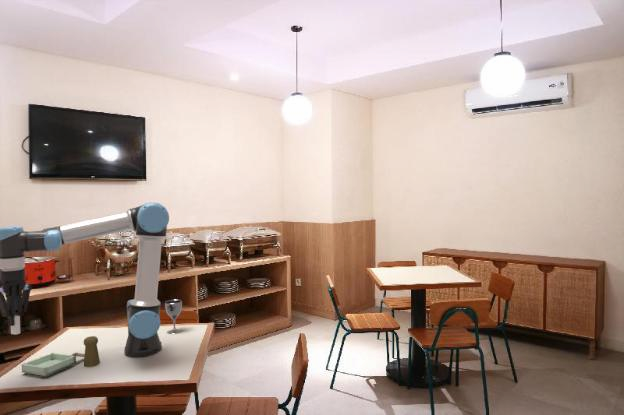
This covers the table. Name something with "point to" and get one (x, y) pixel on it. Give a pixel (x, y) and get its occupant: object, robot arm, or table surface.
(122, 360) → the table surface
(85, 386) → the table surface
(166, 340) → the table surface
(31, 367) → the shallow green tray
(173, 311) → the wine glass
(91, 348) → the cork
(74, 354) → the rails
